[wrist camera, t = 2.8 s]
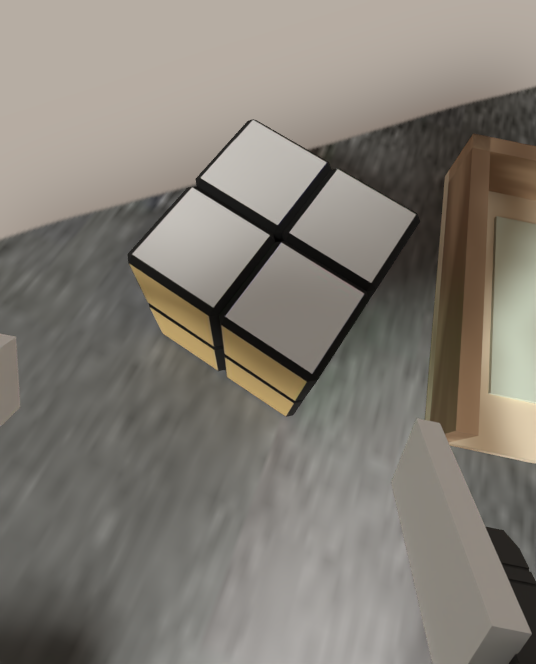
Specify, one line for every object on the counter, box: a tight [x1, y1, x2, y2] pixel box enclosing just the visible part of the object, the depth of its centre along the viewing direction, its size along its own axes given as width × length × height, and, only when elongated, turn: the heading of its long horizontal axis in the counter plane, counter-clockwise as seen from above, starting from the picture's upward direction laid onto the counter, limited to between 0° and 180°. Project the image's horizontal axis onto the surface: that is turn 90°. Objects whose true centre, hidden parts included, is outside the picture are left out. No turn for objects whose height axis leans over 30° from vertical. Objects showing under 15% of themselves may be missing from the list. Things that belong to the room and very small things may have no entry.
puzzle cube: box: [128, 120, 420, 416], centre depth 25 cm, size 10×10×10 cm
